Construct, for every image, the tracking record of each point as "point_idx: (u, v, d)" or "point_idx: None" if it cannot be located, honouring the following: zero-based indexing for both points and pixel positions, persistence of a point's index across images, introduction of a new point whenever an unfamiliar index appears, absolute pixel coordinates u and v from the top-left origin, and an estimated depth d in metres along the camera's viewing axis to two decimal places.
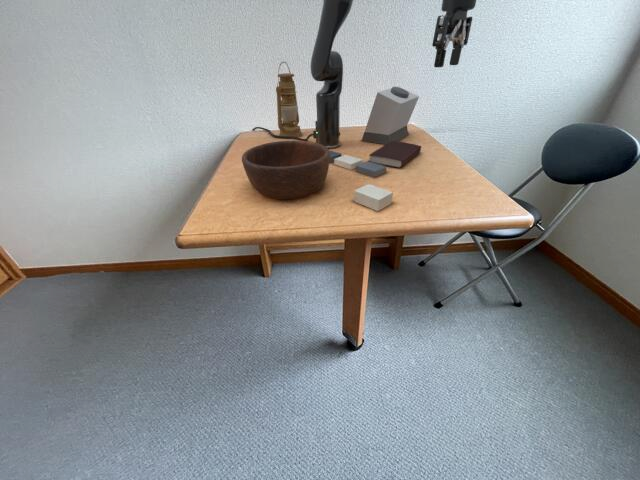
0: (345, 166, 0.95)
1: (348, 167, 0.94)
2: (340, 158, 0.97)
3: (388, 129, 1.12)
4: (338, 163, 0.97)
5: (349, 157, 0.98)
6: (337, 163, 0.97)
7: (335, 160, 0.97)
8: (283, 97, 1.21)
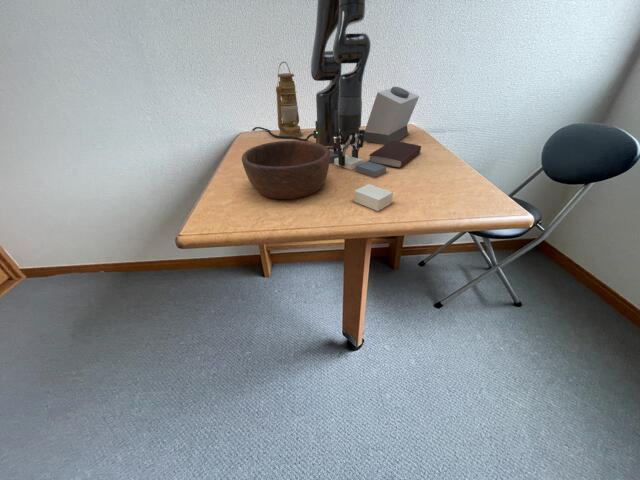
0: (345, 166, 0.95)
1: (348, 167, 0.94)
2: None
3: (388, 129, 1.12)
4: (338, 163, 0.97)
5: (349, 157, 0.98)
6: (337, 163, 0.97)
7: (335, 160, 0.97)
8: (283, 97, 1.21)
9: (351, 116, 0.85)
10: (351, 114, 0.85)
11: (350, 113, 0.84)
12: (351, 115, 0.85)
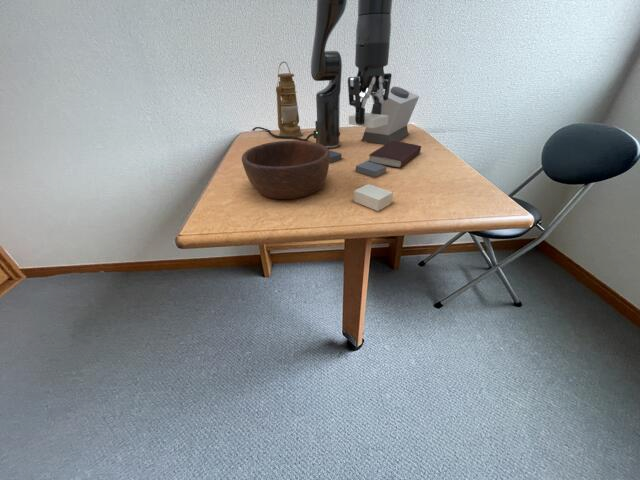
0: (365, 124, 0.68)
1: (369, 125, 0.67)
2: None
3: (388, 129, 1.12)
4: (354, 122, 0.70)
5: (369, 114, 0.72)
6: (353, 122, 0.71)
7: (350, 118, 0.71)
8: (283, 97, 1.21)
9: (376, 45, 0.59)
10: (376, 41, 0.58)
11: (375, 40, 0.58)
12: (376, 43, 0.59)
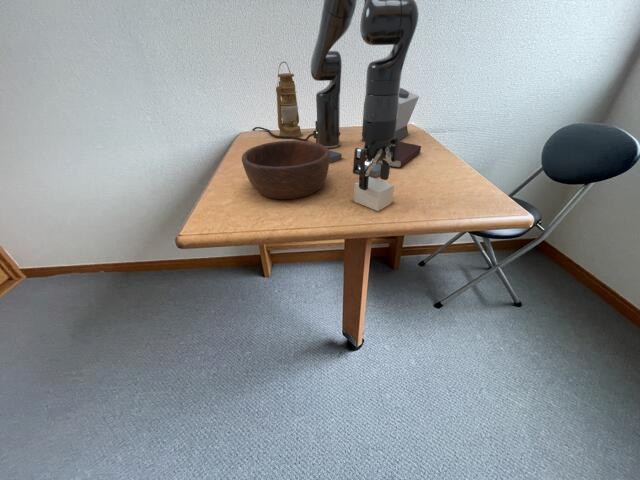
0: (371, 194, 0.69)
1: (375, 196, 0.68)
2: None
3: None
4: (360, 190, 0.71)
5: (375, 181, 0.72)
6: (359, 189, 0.71)
7: (356, 185, 0.71)
8: (283, 97, 1.21)
9: (383, 124, 0.59)
10: (384, 120, 0.58)
11: (382, 119, 0.58)
12: (384, 121, 0.59)
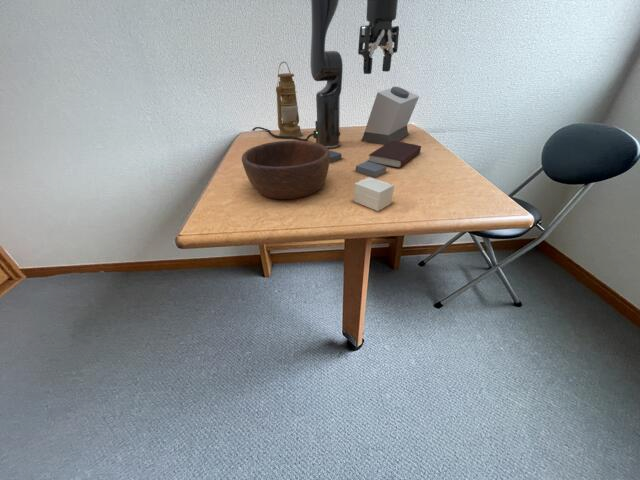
0: (371, 194, 0.69)
1: (375, 196, 0.68)
2: (363, 182, 0.72)
3: (388, 129, 1.12)
4: (360, 190, 0.71)
5: (375, 181, 0.72)
6: (359, 189, 0.71)
7: (356, 185, 0.71)
8: (283, 97, 1.21)
9: None
10: None
11: None
12: None
